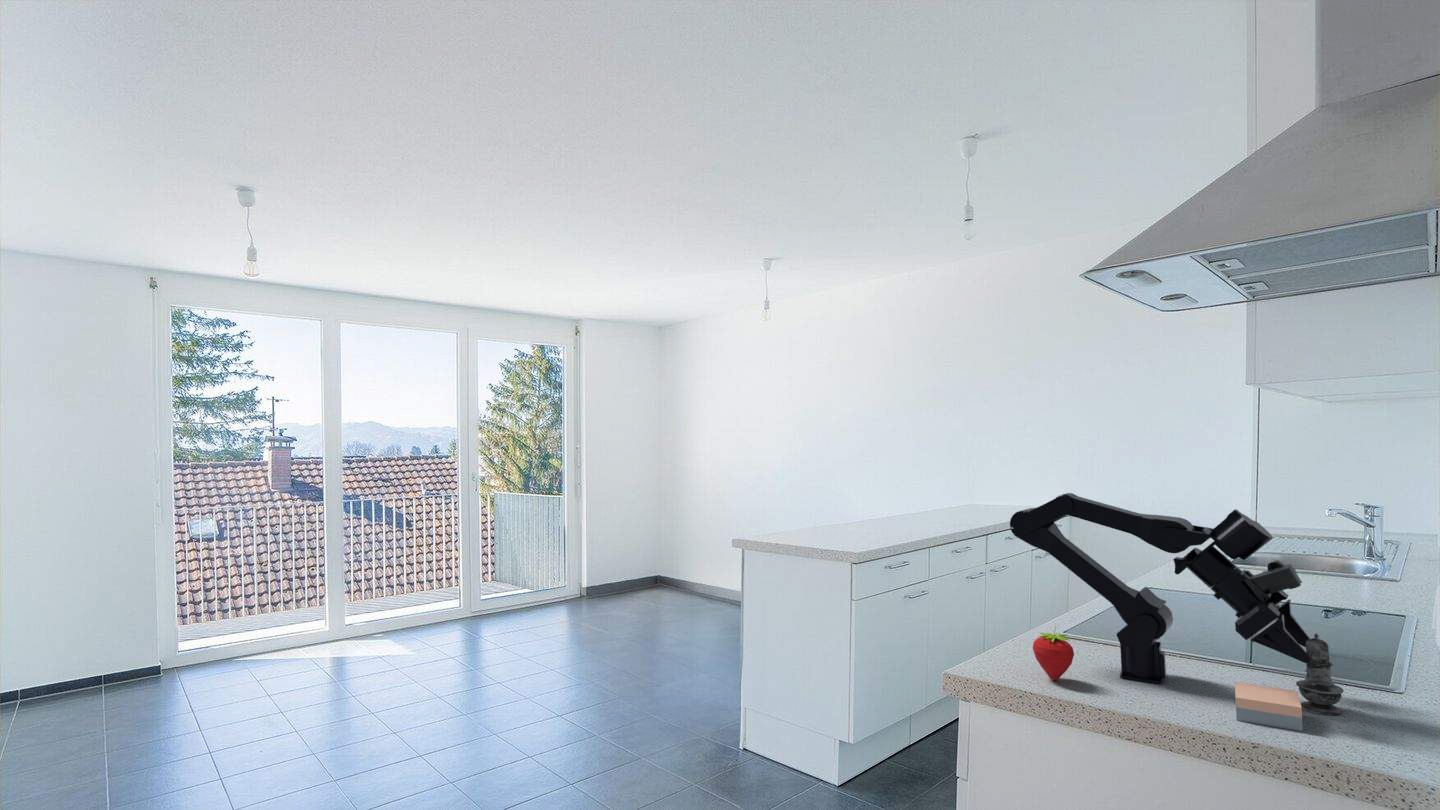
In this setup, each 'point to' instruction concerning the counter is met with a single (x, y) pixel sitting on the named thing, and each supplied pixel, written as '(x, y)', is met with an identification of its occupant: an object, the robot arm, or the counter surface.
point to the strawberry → (1053, 654)
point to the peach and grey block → (1268, 706)
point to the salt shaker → (1319, 681)
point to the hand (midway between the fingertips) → (1310, 654)
